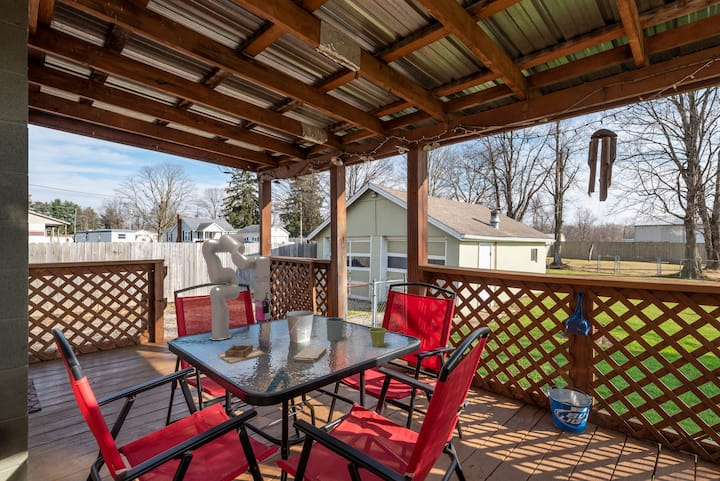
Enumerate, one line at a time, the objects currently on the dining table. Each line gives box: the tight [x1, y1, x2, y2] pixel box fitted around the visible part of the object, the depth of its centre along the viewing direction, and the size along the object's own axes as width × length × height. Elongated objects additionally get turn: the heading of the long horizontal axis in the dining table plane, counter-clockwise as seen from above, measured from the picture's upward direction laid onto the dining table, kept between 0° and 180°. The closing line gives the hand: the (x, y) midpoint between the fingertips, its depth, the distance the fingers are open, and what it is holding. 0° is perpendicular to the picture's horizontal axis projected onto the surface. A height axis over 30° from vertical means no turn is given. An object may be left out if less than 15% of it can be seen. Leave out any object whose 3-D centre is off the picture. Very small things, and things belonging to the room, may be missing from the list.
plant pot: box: [368, 327, 387, 348], centre depth 186 cm, size 9×9×9 cm
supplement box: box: [254, 299, 271, 323], centre depth 183 cm, size 6×6×12 cm
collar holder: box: [216, 344, 266, 365], centre depth 171 cm, size 16×18×4 cm
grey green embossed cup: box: [326, 316, 345, 343], centre depth 199 cm, size 10×10×12 cm
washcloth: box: [292, 347, 327, 364], centre depth 168 cm, size 12×18×3 cm, turn 169°
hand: (262, 312), depth 184 cm, fingers closed on supplement box, 6 cm apart
